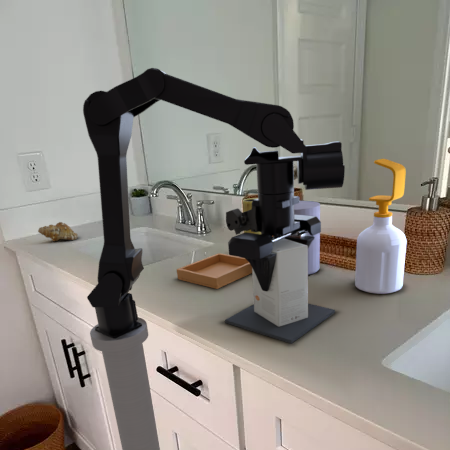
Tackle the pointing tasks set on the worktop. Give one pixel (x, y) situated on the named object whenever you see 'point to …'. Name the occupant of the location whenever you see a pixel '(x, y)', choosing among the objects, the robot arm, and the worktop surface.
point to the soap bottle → (382, 242)
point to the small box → (285, 285)
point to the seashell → (58, 232)
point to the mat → (283, 333)
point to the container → (314, 249)
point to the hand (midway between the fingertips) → (278, 283)
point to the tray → (215, 270)
